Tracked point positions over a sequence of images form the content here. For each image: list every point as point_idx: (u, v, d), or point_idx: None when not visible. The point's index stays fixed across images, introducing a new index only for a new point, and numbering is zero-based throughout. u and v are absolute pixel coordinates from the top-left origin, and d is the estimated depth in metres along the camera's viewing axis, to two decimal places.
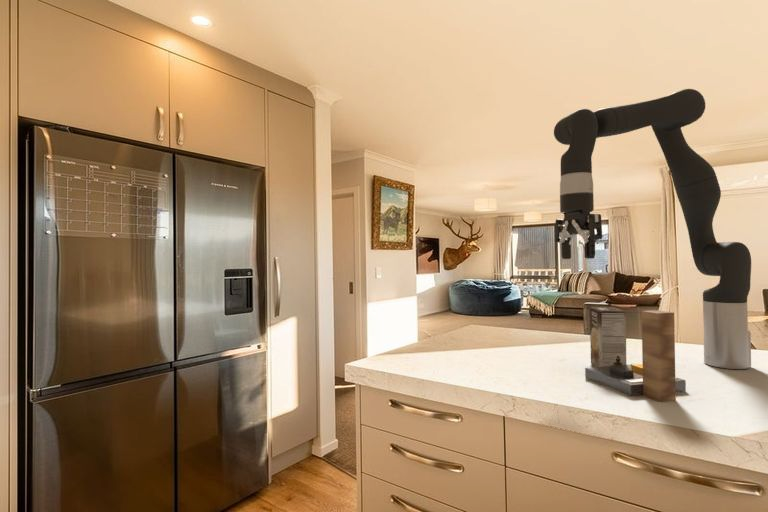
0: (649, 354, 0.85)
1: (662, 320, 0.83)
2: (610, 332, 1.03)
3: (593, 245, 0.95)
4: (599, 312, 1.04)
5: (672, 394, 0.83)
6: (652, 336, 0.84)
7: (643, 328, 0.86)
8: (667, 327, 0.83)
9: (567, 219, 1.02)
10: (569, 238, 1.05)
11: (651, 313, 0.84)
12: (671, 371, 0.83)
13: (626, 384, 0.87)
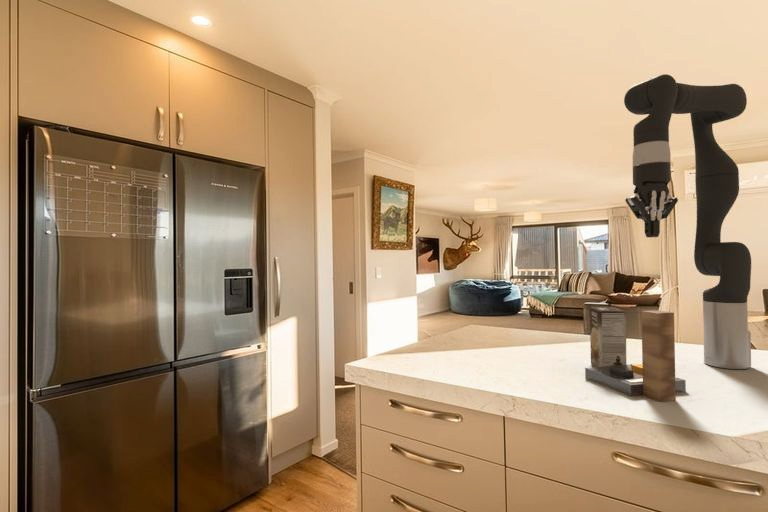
0: (649, 354, 0.85)
1: (661, 320, 0.83)
2: (610, 332, 1.03)
3: None
4: (599, 312, 1.04)
5: (672, 394, 0.83)
6: (651, 335, 0.84)
7: (643, 328, 0.86)
8: (667, 327, 0.83)
9: (648, 189, 0.94)
10: None
11: (651, 313, 0.84)
12: (671, 371, 0.83)
13: (626, 384, 0.87)
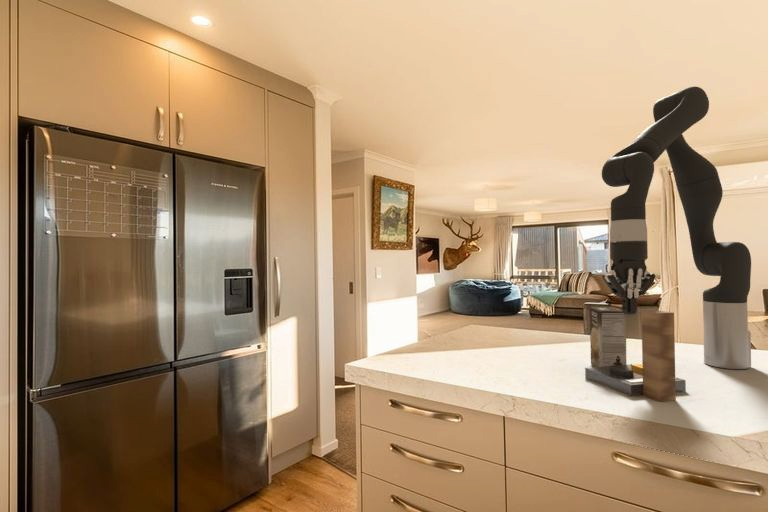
0: (649, 354, 0.85)
1: (661, 320, 0.83)
2: (610, 332, 1.03)
3: None
4: (599, 312, 1.04)
5: (672, 394, 0.83)
6: (651, 335, 0.84)
7: (643, 328, 0.86)
8: (667, 327, 0.83)
9: (625, 266, 0.93)
10: (623, 290, 0.95)
11: (651, 313, 0.84)
12: (671, 371, 0.83)
13: (626, 384, 0.87)
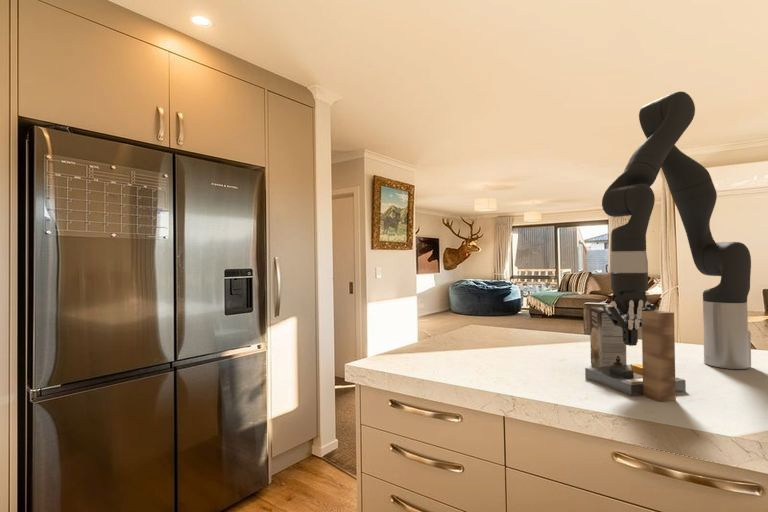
0: (649, 354, 0.85)
1: (662, 320, 0.83)
2: (610, 332, 1.03)
3: None
4: (599, 312, 1.04)
5: (672, 394, 0.83)
6: (652, 335, 0.84)
7: (643, 328, 0.86)
8: (667, 327, 0.83)
9: (625, 298, 0.93)
10: (624, 321, 0.95)
11: (651, 313, 0.84)
12: (671, 371, 0.83)
13: (626, 384, 0.87)
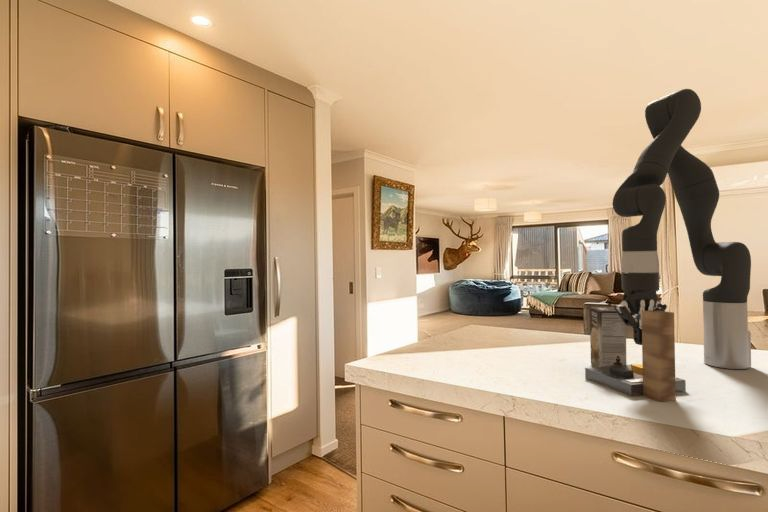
0: (649, 354, 0.85)
1: (661, 320, 0.83)
2: (610, 332, 1.03)
3: None
4: (599, 312, 1.04)
5: (672, 394, 0.83)
6: (652, 335, 0.84)
7: (643, 328, 0.86)
8: (667, 327, 0.83)
9: (636, 298, 0.94)
10: None
11: (651, 313, 0.84)
12: (671, 371, 0.83)
13: (626, 384, 0.87)
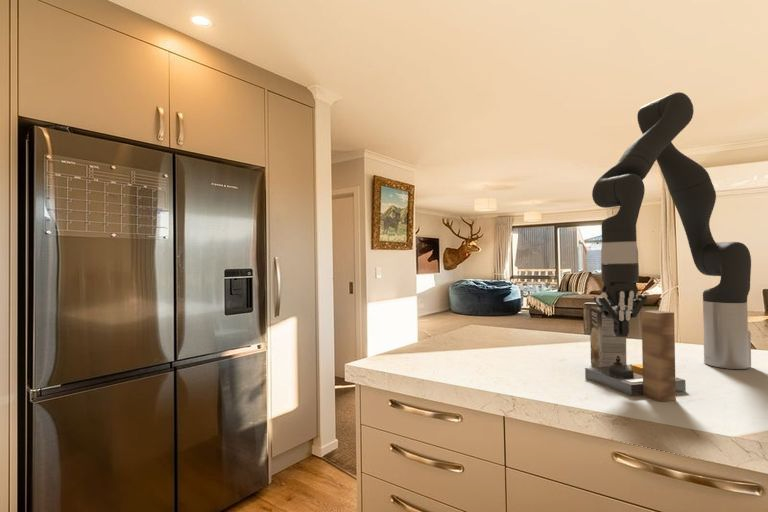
0: (649, 354, 0.85)
1: (662, 320, 0.83)
2: (610, 332, 1.03)
3: None
4: (599, 312, 1.04)
5: (672, 394, 0.83)
6: (652, 335, 0.84)
7: (643, 328, 0.86)
8: (667, 327, 0.83)
9: (616, 289, 0.93)
10: (615, 312, 0.95)
11: (651, 313, 0.84)
12: (671, 371, 0.83)
13: (626, 384, 0.87)
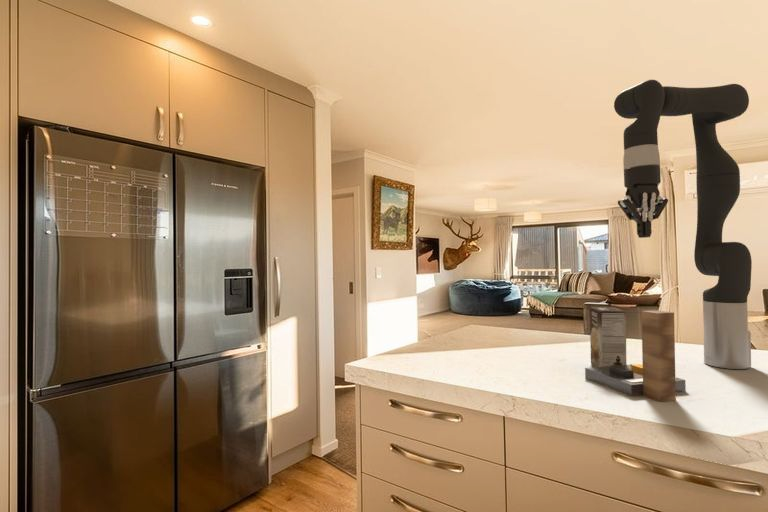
0: (649, 354, 0.85)
1: (662, 320, 0.83)
2: (610, 332, 1.03)
3: None
4: (599, 312, 1.04)
5: (672, 394, 0.83)
6: (652, 336, 0.84)
7: (643, 328, 0.86)
8: (667, 327, 0.83)
9: (639, 191, 0.98)
10: None
11: (651, 313, 0.84)
12: (671, 371, 0.83)
13: (626, 384, 0.87)
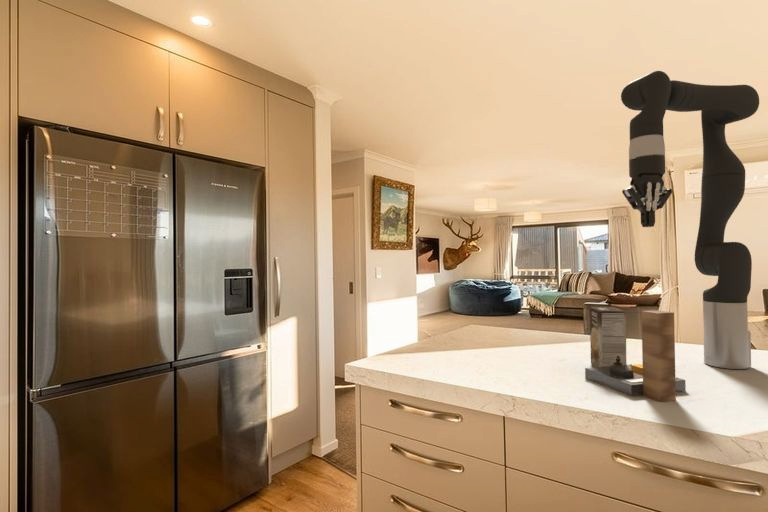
0: (649, 354, 0.85)
1: (662, 320, 0.83)
2: (610, 332, 1.03)
3: None
4: (599, 312, 1.04)
5: (672, 394, 0.83)
6: (652, 336, 0.84)
7: (643, 328, 0.86)
8: (667, 327, 0.83)
9: (643, 181, 0.99)
10: None
11: (651, 313, 0.84)
12: (671, 371, 0.83)
13: (626, 384, 0.87)
